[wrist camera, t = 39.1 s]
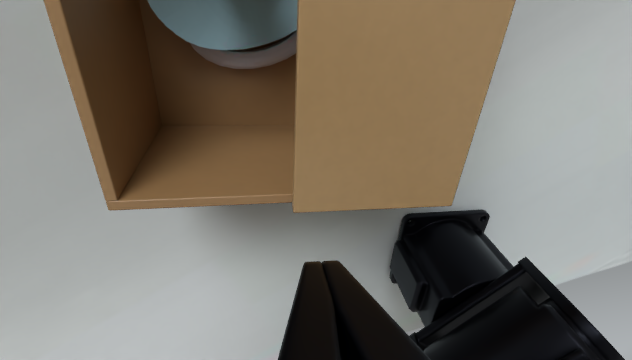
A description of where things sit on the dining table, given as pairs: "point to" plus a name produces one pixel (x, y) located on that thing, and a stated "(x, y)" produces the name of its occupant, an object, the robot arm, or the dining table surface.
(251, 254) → the dining table surface
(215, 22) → the pacifier
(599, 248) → the dining table surface
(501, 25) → the flap
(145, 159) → the carton
